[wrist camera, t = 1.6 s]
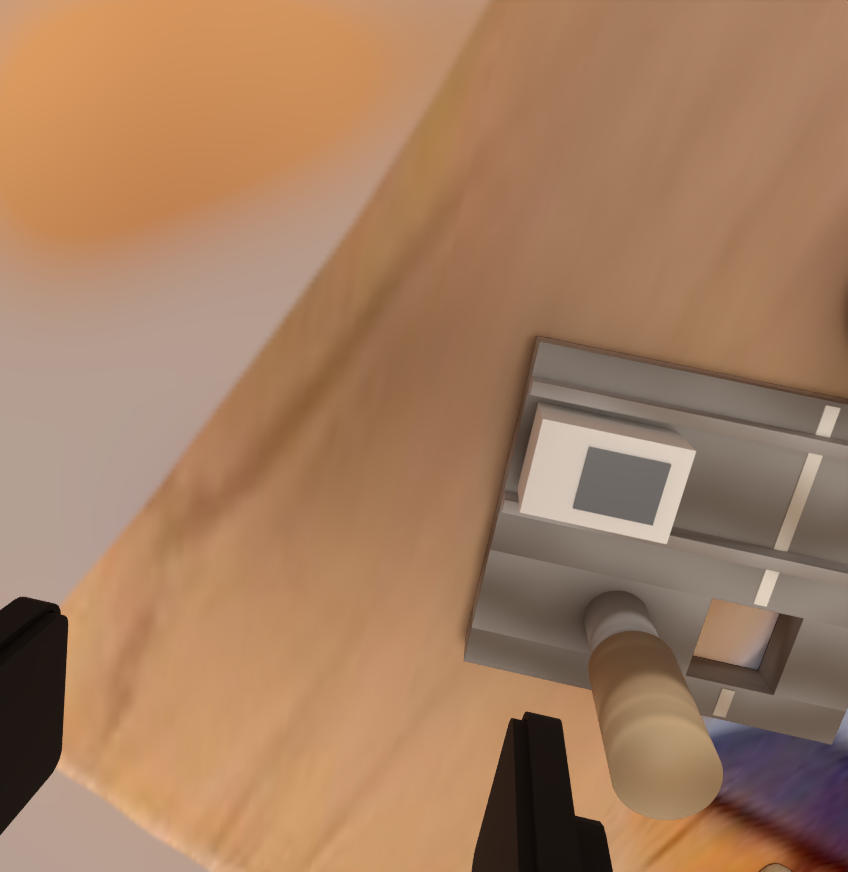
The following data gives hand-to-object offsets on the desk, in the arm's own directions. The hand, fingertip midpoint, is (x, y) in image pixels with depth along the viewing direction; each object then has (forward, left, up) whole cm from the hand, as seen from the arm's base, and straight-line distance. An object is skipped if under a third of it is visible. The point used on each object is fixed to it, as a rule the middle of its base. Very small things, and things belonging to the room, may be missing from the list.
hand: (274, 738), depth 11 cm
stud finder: (0, +8, -21) cm, 22 cm away
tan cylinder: (+7, +11, -21) cm, 25 cm away
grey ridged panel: (+3, +14, -23) cm, 27 cm away
